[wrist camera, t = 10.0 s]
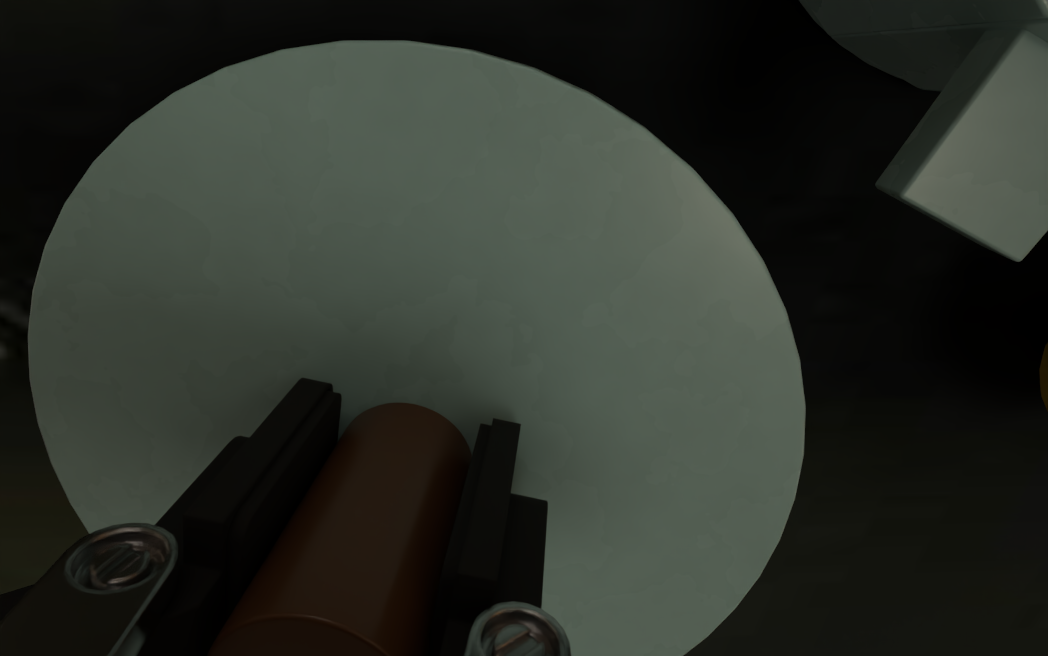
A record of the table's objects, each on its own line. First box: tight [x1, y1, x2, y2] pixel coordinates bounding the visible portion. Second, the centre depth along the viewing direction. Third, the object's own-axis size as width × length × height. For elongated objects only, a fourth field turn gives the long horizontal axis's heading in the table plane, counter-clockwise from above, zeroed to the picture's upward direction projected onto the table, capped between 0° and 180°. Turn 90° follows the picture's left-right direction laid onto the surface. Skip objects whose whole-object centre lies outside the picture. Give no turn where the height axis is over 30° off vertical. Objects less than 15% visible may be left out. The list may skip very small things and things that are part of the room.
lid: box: [28, 40, 806, 656], centre depth 11 cm, size 15×15×6 cm
